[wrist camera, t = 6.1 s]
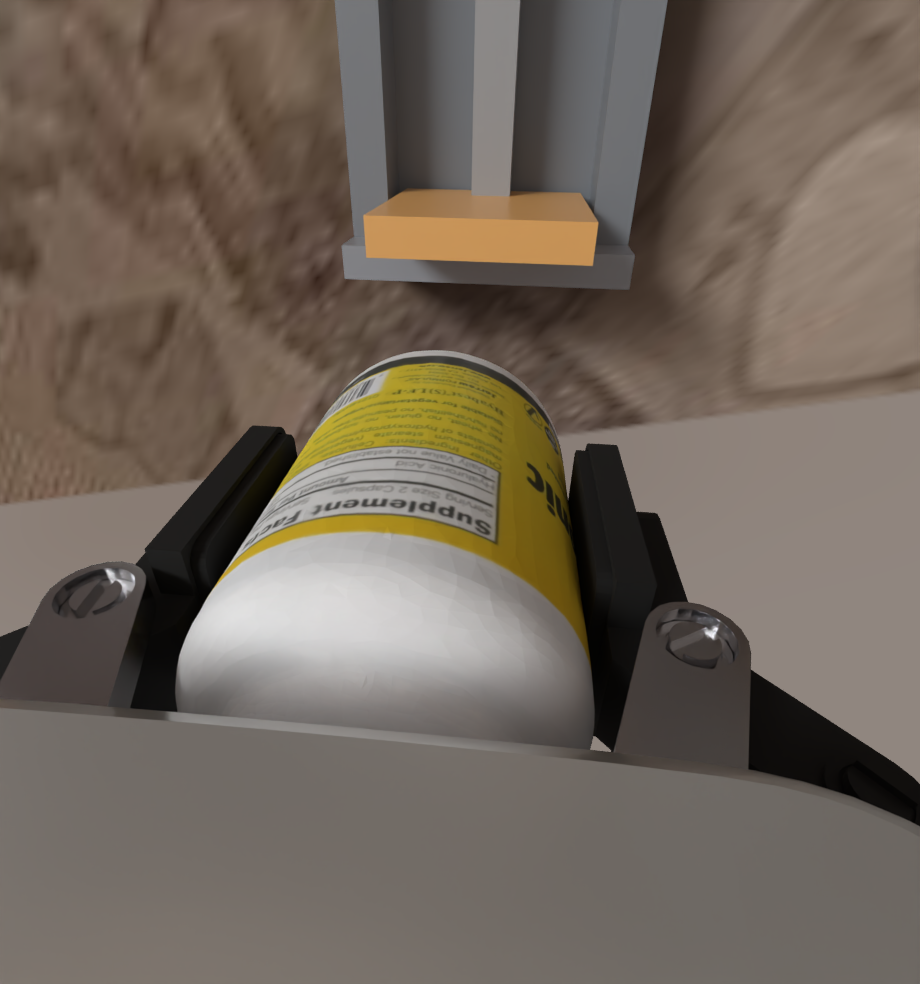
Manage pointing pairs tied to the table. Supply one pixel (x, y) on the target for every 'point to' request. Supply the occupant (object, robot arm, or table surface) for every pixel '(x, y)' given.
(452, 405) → the supplement bottle
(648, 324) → the table surface
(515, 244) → the pusher
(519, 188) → the lane base
